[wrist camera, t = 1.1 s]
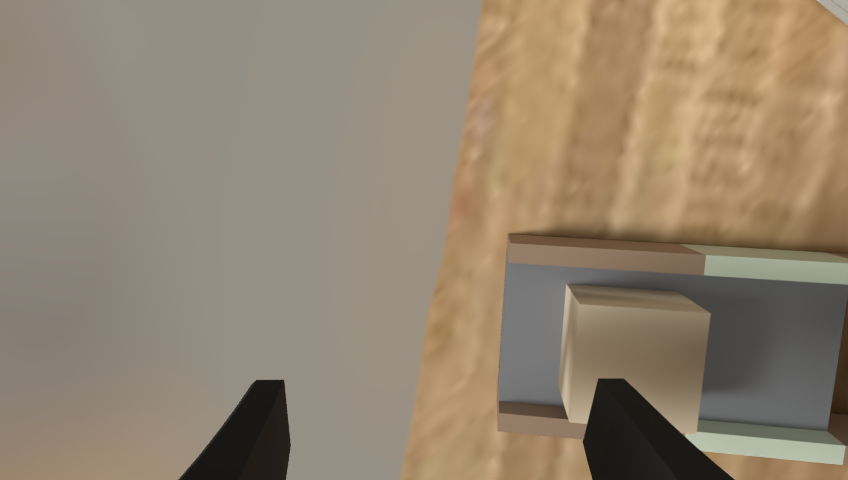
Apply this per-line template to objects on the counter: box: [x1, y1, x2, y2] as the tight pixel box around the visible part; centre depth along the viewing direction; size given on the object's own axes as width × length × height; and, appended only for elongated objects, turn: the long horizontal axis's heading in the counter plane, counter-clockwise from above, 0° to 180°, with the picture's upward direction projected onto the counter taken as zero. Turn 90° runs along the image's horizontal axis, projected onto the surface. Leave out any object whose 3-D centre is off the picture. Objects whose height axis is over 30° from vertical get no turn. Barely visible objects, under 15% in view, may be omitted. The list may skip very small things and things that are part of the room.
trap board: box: [497, 234, 848, 465], centre depth 23 cm, size 8×20×3 cm, turn 88°
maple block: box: [558, 284, 711, 434], centre depth 22 cm, size 4×4×4 cm
